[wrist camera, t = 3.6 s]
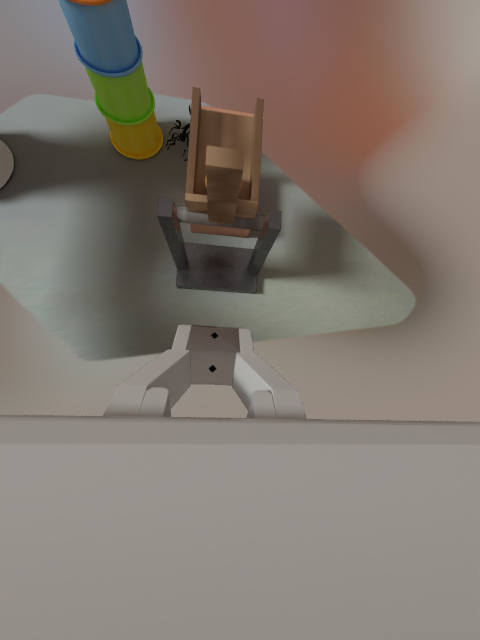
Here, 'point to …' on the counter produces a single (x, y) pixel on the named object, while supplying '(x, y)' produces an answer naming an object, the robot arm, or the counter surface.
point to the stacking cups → (115, 73)
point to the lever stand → (216, 255)
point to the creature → (183, 134)
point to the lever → (223, 168)
